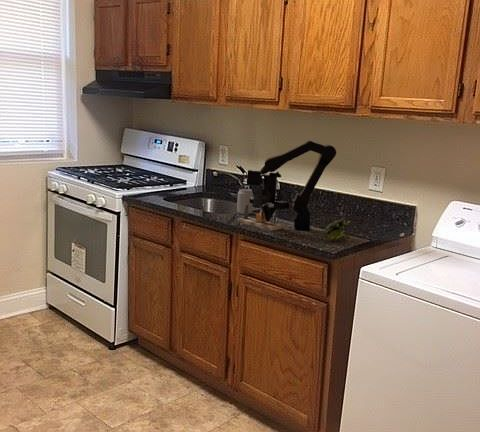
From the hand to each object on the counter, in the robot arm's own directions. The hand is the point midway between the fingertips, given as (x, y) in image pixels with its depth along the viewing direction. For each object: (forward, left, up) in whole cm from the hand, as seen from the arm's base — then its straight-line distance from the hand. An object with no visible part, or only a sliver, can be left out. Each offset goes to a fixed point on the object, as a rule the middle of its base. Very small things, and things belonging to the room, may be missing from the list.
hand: (267, 221), depth 240 cm
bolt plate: (+4, -3, -3) cm, 6 cm away
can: (+15, -27, -3) cm, 31 cm away
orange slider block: (+3, -2, -1) cm, 4 cm away
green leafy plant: (-31, +12, -3) cm, 33 cm away
